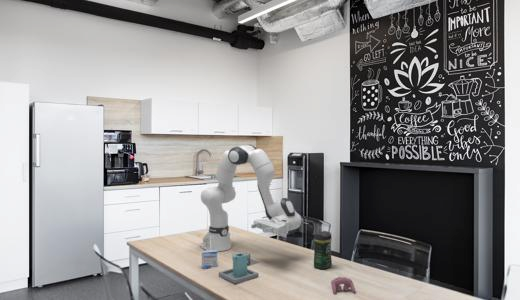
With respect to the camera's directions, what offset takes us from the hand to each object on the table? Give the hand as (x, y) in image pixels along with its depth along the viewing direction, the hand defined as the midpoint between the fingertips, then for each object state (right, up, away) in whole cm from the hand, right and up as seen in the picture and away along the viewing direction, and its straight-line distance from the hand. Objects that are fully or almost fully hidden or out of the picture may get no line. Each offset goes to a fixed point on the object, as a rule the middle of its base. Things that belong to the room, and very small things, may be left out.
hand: (257, 228), depth 186 cm
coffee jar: (+34, -21, +3) cm, 41 cm away
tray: (-9, -22, -10) cm, 26 cm away
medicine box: (-26, -22, +5) cm, 34 cm away
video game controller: (+38, -22, -29) cm, 52 cm away
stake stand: (-5, -21, +10) cm, 24 cm away
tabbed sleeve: (-9, -21, -9) cm, 24 cm away
